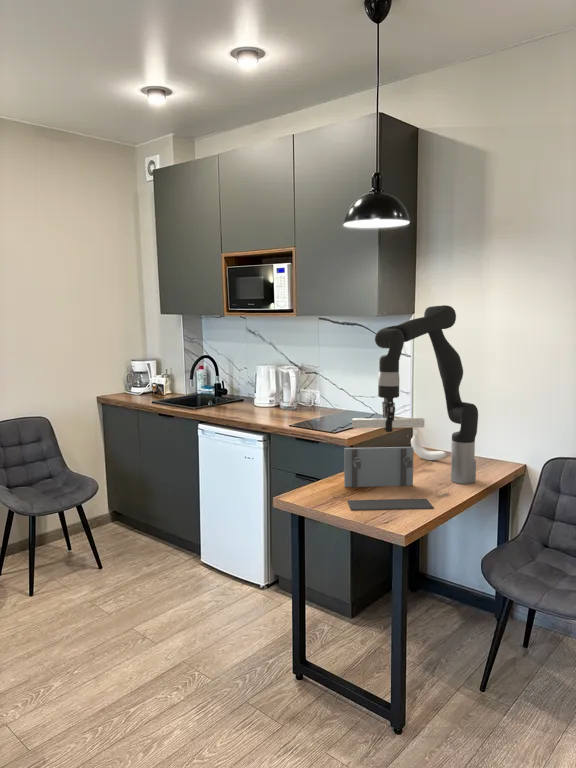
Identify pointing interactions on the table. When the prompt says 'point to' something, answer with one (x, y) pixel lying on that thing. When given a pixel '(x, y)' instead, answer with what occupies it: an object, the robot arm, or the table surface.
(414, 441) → the banana
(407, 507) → the mat
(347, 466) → the rail stand
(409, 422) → the rail
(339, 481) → the table surface
